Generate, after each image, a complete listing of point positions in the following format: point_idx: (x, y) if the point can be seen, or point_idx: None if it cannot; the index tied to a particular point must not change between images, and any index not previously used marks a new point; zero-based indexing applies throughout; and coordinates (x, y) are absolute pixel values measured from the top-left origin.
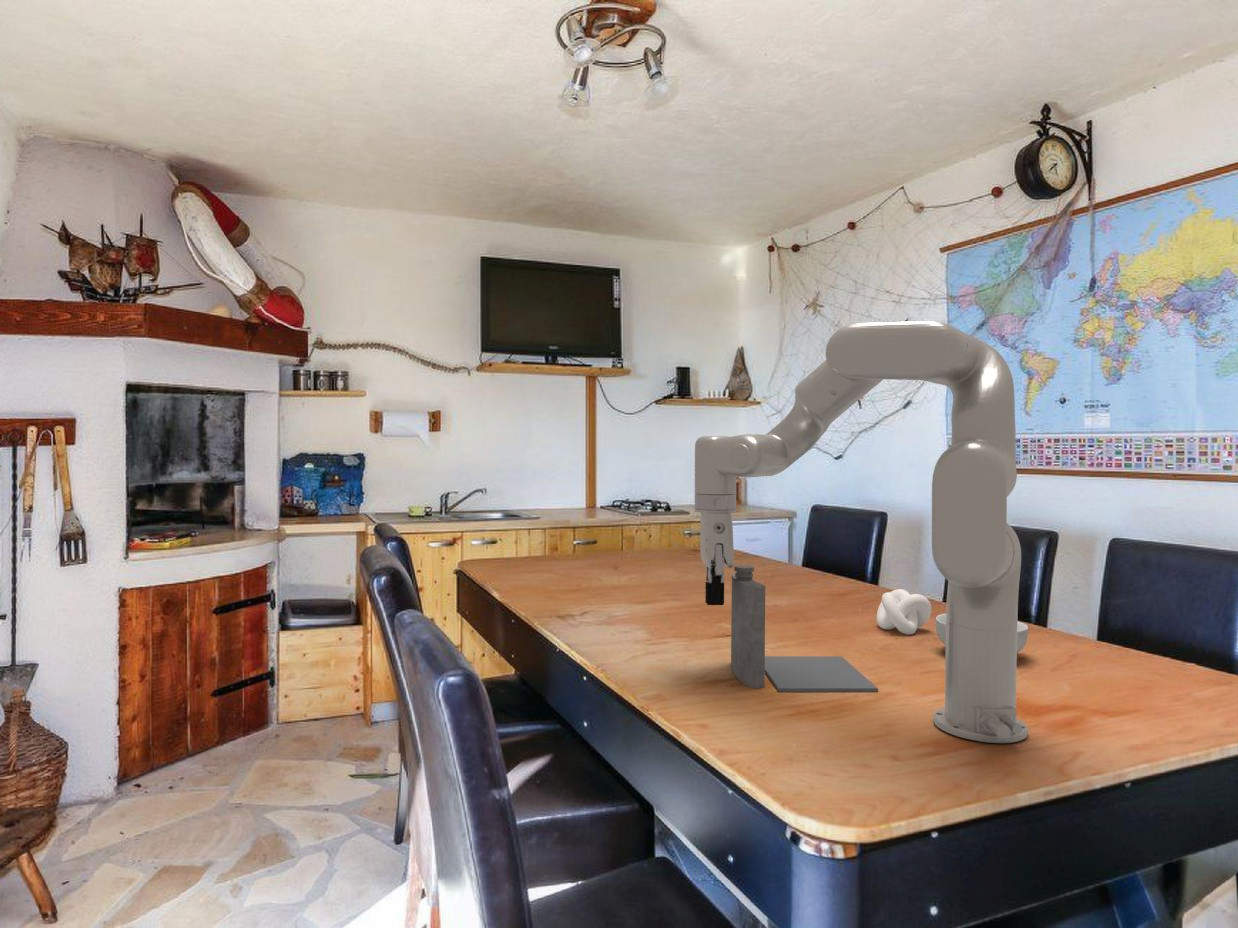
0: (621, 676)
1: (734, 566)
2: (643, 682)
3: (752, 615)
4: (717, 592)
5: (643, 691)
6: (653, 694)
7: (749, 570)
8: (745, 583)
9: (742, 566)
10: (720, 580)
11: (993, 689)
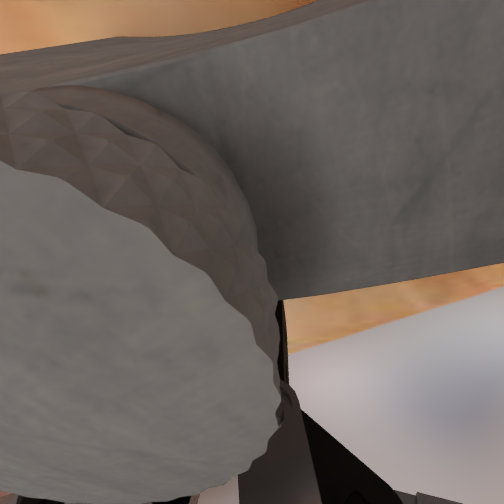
0: (293, 336)
1: (92, 502)
2: (332, 303)
3: None
4: (285, 348)
5: (394, 301)
6: (417, 285)
7: (247, 261)
8: (484, 226)
9: (118, 448)
10: (323, 429)
11: None
